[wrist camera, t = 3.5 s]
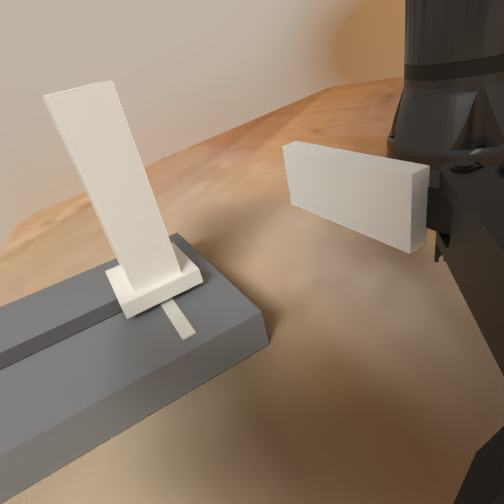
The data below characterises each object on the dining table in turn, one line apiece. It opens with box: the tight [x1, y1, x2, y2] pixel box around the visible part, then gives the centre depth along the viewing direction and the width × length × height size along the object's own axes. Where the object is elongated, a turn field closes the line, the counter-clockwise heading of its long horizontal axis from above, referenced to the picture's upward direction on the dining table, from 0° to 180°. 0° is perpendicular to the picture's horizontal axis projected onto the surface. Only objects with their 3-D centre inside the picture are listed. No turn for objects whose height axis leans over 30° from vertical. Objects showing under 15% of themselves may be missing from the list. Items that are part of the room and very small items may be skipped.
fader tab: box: [42, 81, 203, 319], centre depth 21 cm, size 5×5×12 cm
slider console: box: [0, 233, 269, 504], centre depth 22 cm, size 24×14×3 cm, turn 120°
